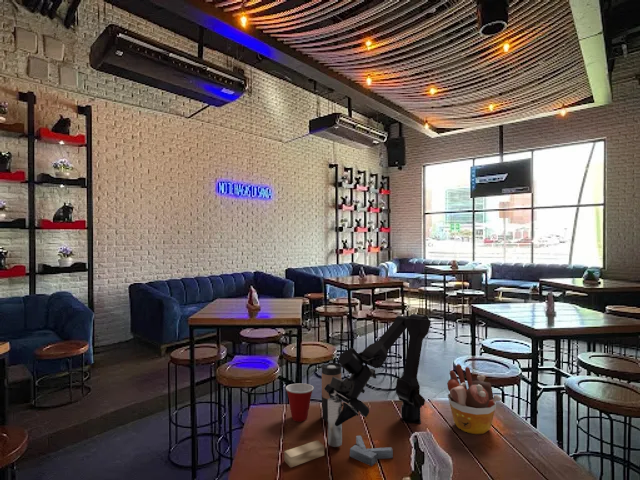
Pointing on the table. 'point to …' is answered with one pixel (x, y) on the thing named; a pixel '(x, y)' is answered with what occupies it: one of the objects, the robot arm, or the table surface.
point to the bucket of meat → (471, 402)
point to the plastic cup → (299, 400)
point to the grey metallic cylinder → (334, 430)
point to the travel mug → (327, 374)
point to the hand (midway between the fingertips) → (331, 422)
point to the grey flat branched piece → (369, 452)
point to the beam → (304, 453)
